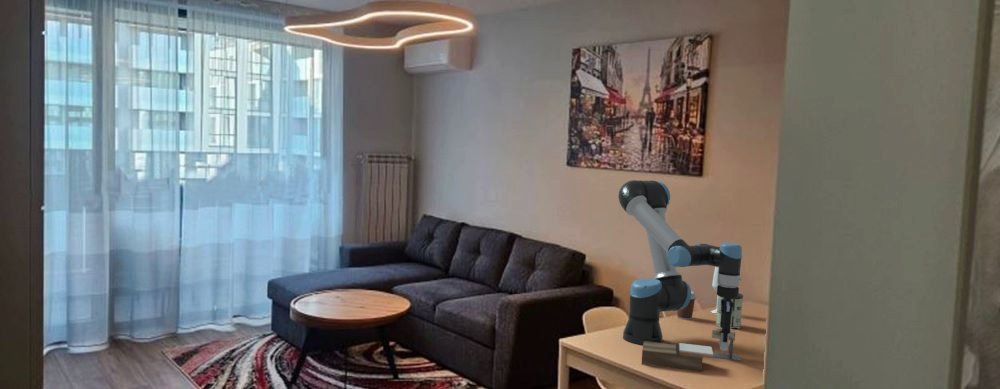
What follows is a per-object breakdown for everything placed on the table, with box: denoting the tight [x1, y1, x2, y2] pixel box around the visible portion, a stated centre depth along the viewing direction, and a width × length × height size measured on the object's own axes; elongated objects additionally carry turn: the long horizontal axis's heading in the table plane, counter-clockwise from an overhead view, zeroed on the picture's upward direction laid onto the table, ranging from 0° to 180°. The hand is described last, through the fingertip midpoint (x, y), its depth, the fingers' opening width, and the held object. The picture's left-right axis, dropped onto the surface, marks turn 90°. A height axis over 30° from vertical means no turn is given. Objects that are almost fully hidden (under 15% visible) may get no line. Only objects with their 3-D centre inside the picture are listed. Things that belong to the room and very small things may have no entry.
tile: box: [678, 342, 714, 358], centre depth 234 cm, size 9×11×1 cm
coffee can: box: [715, 293, 744, 329], centre depth 292 cm, size 10×10×14 cm
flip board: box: [641, 341, 703, 373], centre depth 236 cm, size 12×20×6 cm, turn 76°
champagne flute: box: [710, 266, 719, 314], centre depth 315 cm, size 7×7×24 cm
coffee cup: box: [676, 290, 697, 321], centre depth 302 cm, size 9×9×12 cm
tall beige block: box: [702, 327, 742, 362], centre depth 247 cm, size 15×6×10 cm, turn 76°
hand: (723, 348), depth 247 cm, fingers open, 5 cm apart
